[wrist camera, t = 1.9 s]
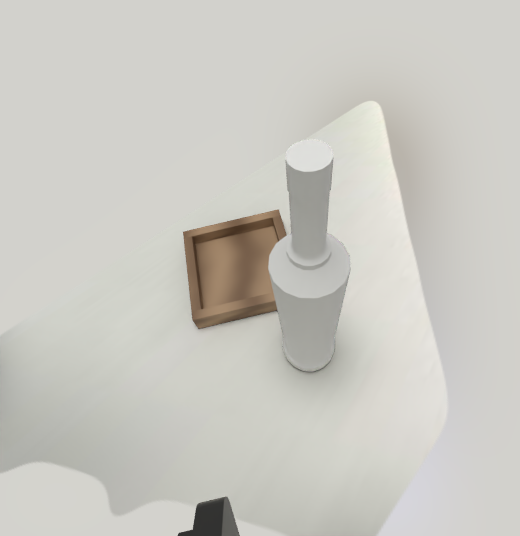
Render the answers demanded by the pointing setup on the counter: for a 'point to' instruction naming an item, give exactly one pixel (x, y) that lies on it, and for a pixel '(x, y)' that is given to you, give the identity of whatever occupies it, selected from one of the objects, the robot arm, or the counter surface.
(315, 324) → the bottle
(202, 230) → the walnut tray
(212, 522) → the robot arm
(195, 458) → the counter surface
